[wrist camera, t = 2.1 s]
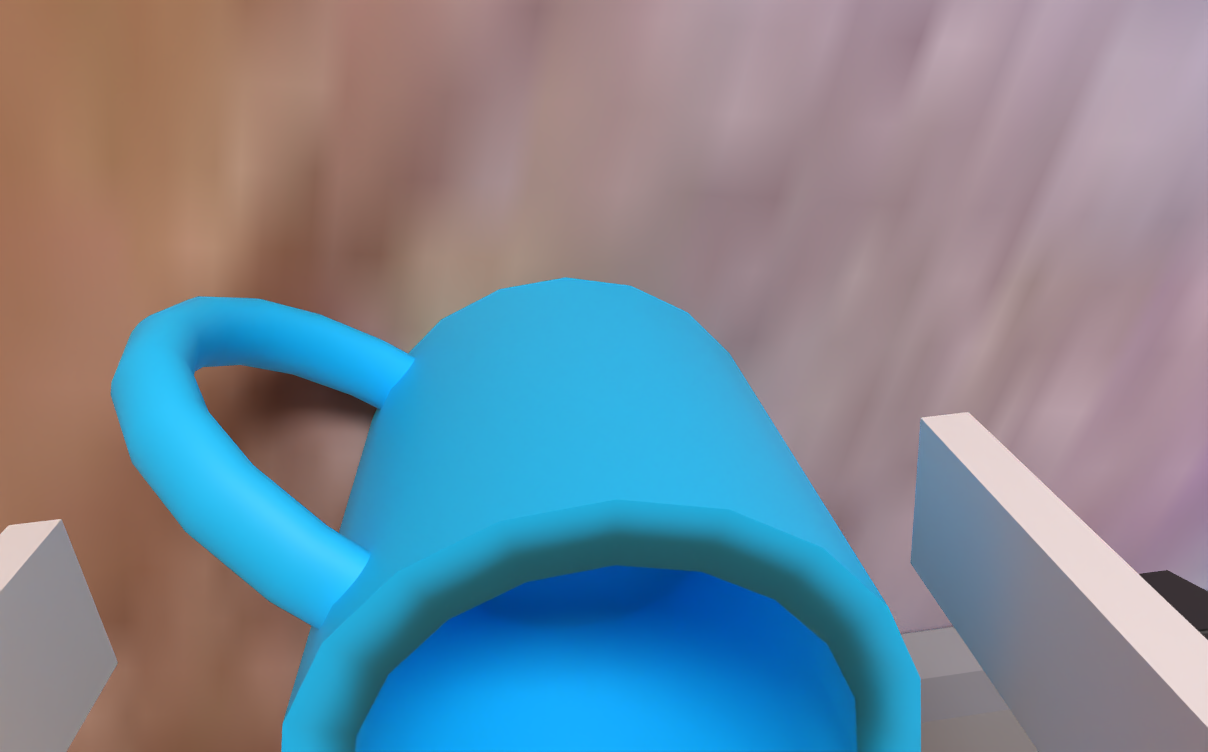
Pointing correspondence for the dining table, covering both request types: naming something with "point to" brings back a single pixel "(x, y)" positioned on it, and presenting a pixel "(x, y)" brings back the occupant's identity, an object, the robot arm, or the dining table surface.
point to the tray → (960, 699)
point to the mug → (533, 535)
